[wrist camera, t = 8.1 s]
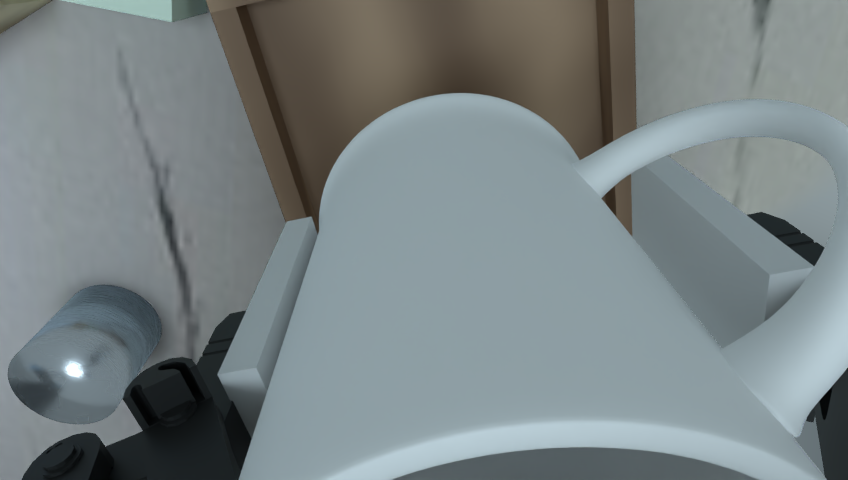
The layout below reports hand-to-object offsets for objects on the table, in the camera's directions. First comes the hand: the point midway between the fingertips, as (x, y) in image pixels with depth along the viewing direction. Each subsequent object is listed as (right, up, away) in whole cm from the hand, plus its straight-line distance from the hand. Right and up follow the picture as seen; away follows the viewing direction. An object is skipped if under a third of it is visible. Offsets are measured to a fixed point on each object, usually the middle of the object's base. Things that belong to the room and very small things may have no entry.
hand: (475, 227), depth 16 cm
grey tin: (-19, -5, +14) cm, 24 cm away
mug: (+1, +1, +1) cm, 2 cm away
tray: (0, +5, +9) cm, 11 cm away
